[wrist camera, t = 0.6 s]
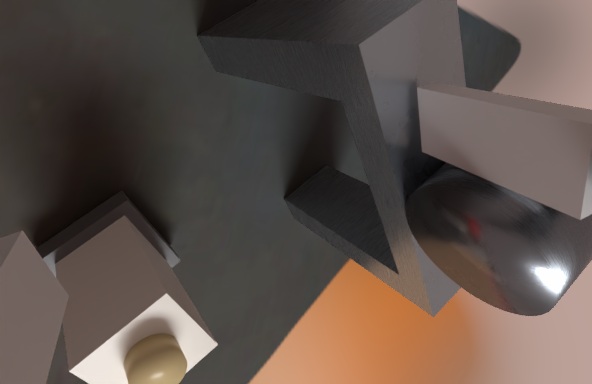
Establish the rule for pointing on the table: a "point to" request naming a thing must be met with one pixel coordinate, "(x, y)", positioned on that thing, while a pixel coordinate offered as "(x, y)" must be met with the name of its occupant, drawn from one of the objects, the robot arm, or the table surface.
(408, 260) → the grey metal arch
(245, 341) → the table surface
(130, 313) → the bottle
